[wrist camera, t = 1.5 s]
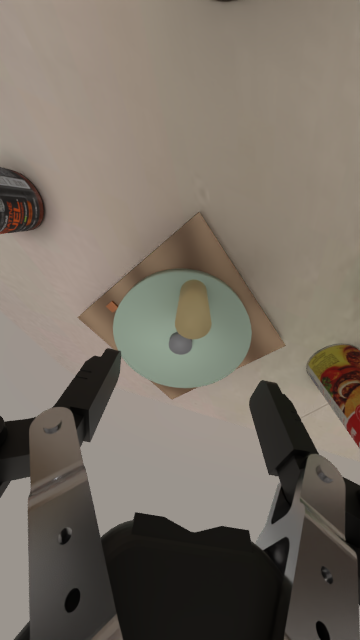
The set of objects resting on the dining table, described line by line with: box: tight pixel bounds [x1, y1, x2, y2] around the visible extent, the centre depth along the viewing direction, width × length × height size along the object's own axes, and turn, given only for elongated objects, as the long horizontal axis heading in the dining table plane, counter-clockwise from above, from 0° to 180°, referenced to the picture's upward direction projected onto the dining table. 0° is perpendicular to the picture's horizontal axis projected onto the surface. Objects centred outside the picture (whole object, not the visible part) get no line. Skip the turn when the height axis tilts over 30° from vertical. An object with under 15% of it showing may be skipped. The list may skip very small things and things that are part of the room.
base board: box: [78, 212, 286, 399], centre depth 28 cm, size 21×21×2 cm
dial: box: [113, 269, 252, 388], centre depth 23 cm, size 18×18×9 cm
